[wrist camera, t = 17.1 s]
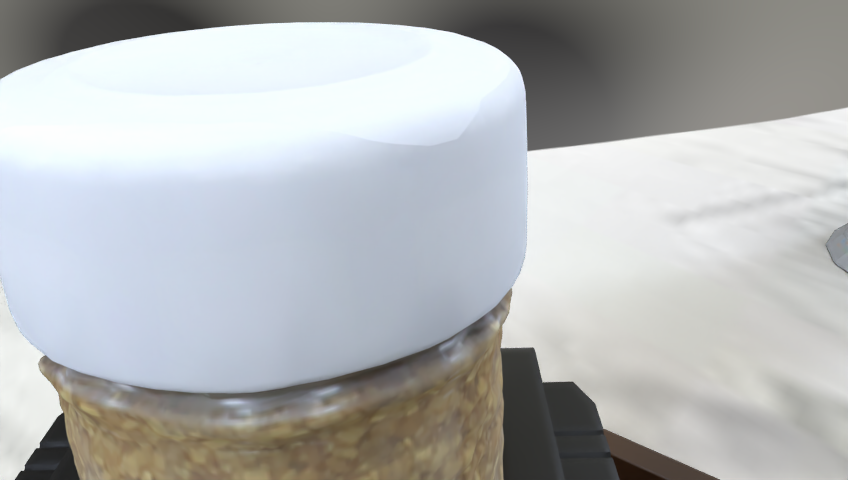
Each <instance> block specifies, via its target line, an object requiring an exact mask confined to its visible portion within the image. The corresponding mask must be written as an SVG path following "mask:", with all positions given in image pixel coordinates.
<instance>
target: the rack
mask: <svg viewBox="0 0 848 480" xmlns="http://www.w3.org/2000/svg"><path fill="white" fill-rule="evenodd" d="M603 430H604V435H605V436H606V439H607V442H608V445H609V448H610V452H611V458H613V461H614V464H615V467H616V470H617V473H618V476H619V479H620V480H720V479H717V478H715V477H713V476H710V475H708V474H706V473H704V472H701V471H699V470H697V469H695V468H692V467H690V466H688V465H685V464H683V463H681V462H679V461H676V460H674V459H672V458H669V457H667V456H665V455H663V454H660V453H658V452H656V451H654V450H651V449H649V448H647V447H644V446H642V445H640V444H638V443H635V442H633V441H631V440H628V439H626V438H624V437H622V436H619V435H617V434H615V433H612V432H610V431H608V430H606V429H603Z"/></svg>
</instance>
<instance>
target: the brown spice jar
mask: <svg viewBox="0 0 848 480" xmlns="http://www.w3.org/2000/svg"><path fill="white" fill-rule="evenodd" d="M526 123H527V122H526V94H525V87H524V83H523V79H522V76H521V73H520V71H519V69H518V68H517V66H516V65H515V64H514V62H513V61H512V60H511V59H510V58H509V57H507V56H506V55H505V54H504V53H502V52H501V51H500V50H498V49H496V48H494V47H492V46H490V45H488V44H486V43H484V42H481V41H478V40H475V39H471V38H468V37H465V36H462V35H459V34H456V33H451V32H445V31H440V30H434V29H428V28H419V27H411V26H402V25H389V24H373V23H372V24H371V23H331V22H330V23H279V24H278V23H275V24H256V25H242V26H228V27H218V28H208V29H200V30H191V31H182V32H174V33H166V34H159V35H153V36H147V37H141V38H135V39H129V40H123V41H116V42H112V43H108V44H104V45H100V46H96V47H91V48H87V49H83V50H79V51H74V52H71V53H67V54H64V55H61V56H57V57H53V58H50V59H46V60H43V61H40V62H38V63H35V64H33V65H30V66H27V67H25V68H22V69H19V70H17V71H15V72H13V73H11V74H9V75H8V76H6V77H4V78H2V79H0V278H1V281H2V285H3V289H4V292H5V296H6V299H7V303H8V307H9V310H10V312H11V315H12V317H13V319H14V321H15V323H16V325H17V327H18V328H19V330H20V332H21V333H22V335H23V336H24V337H25V338H26V339H27V340H28V341H29V342H30V343H31V344H32V345H33V346H35V347H36V348H37V349H38V350H40V351H41V352H42V353H43V354H45V356H43V357H42V358H41V359H40V361H39V363H38V365H39V369H40V371H41V373H42V374H43V375H44V376H45V377H46V378H47V379H48V380H49V381H50V382H51V384H52V385H53V386H54V388H55V389H56V390H57V392H58V393H59V400H60V406H61V408H62V410H63V412H64V416H65V425H66V432H67V437H68V441H69V444H70V446H71V449H72V452H73V456H74V463H75V466H76V469H77V472H78V475H79V478H80V480H503V445H504V434H503V426H502V424H503V412H504V400H503V393H502V387H503V377H502V359H501V352H500V347H501V339H502V325H503V323H504V322H505V320H506V318H507V316H508V314H509V309H510V301H511V296H512V286H513V284H514V283H515V281H516V279H517V277H518V276H519V274H520V271H521V268H522V265H523V262H524V259H525V253H526V246H527V195H528V175H527V124H526Z"/></svg>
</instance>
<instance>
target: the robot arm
mask: <svg viewBox="0 0 848 480" xmlns="http://www.w3.org/2000/svg"><path fill="white" fill-rule="evenodd" d="M500 352H501V359H502V377H503V387H502V393H503V400H504V412H503V424H502V426H503V434H504V445H503V480H620V479H619V476H618V473H617V470H616V467H615V464H614V461H613V458H611V452H610V448H609V445H608V442H607V439H606V436H605V435H604V430H603V427H602V424H601V421H600V417H599V414H598V411H597V408H596V405H595V403H594V402H593V401H592V400H591V399H590V398H589V397H588V396H587V395H586V394H585V393H584V392H583V391H582V390H581V389H580V388H579V387H578V386H577V385H576V384H575V383H574V382H543V383H542V379H541V375H540V370H539V366H538V362H537V357H536V353H535V350H534V348H500ZM15 480H80V478H79V475H78V472H77V469H76V466H75V463H74V456H73V452H72V449H71V446H70V444H69V441H68V437H67V432H66V425H65V416H64V412H63V413H62V414H61V415H59V416H58V417H57V419H56V420H55V422H54V423H53V425H52V426H51V428H50V429H49V430H48V432H47V433H46V435H45V436H44V438H43V439H42V441H41V442H40V448H36V450H35V451H34V452H33V454H32V455H31V457H30V458H29V460H28V461H27V463H26V464H25V470H24V471H21V472H20V473H19V474H18V476H17V477H16V479H15Z"/></svg>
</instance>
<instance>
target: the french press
mask: <svg viewBox="0 0 848 480" xmlns="http://www.w3.org/2000/svg"><path fill="white" fill-rule="evenodd" d="M826 246H827V248H828V250H829V253H830V255H831V257H832V259H833V261H834V263H836V264H837V265H838V266H840V267H841V268H843V269H844V270H845V271H847V272H848V223H847V224H846V225H844V226H842V227H840V228H838V229H837V230H835V231H834V232H833V234H832V236H831V237H830V239H829V240H828V242H827V243H826Z"/></svg>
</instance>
